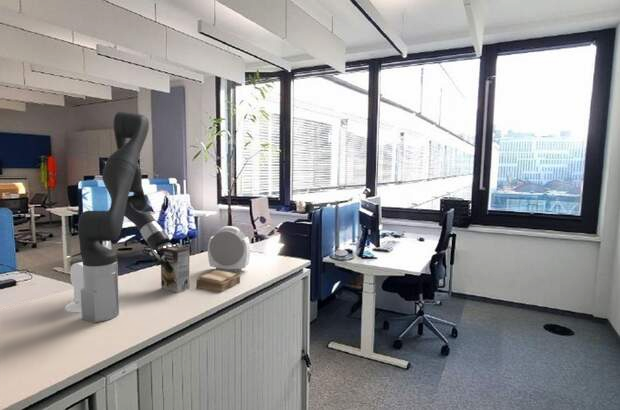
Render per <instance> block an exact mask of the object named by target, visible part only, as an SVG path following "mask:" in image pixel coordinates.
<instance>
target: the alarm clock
mask: <svg viewBox="0 0 620 410" xmlns="http://www.w3.org/2000/svg"><path fill="white" fill-rule="evenodd" d="M250 255H251V241H250V239H249V236H246V234H245V233H244V232H243V231H242V230H240V228H238V227H237V226H232V225H228V226H227V225H226V226H223V227H221V228H219V229H218V231H217V232H216V233H215V234H214V235H213V236H211V237H210V238H209V240H208V244H207V258H208V262H209V263H208V264H209V267H213V268H215V270H219V271H225V272H231V273H236V274H239V273H240V272H241V271H242V270H243V269H245V268H247V267H248V265H249V262H250Z"/></svg>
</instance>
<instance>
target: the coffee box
mask: <svg viewBox="0 0 620 410" xmlns="http://www.w3.org/2000/svg"><path fill="white" fill-rule="evenodd" d="M175 245H176V244H172V246H166V247H162V248H160V249H161V251H162V255H161V258H162V256H163V253H164V254H165V255H166V259H167V262H169V264H170V265H171V267H172V268H173V271H172V272H171V273H168V272H167V271H166V270H165V268H164V267H163V266H162V265H160V277H161V279H160V280H161V281H160V283H161V284H160V286H161V287H160V288H161V289H162V290H167V291H168V292H169V291H170V292H173V293H181V292H183V291H184V292H185V291H186V290H189V289H190V284H191V283H190V261H191V260H190V257H191V256H190V250H191V249H190V248H188V247H186V246H185V247H183V246H181V245H180V246H181V247H180V246H175Z"/></svg>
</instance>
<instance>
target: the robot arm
mask: <svg viewBox="0 0 620 410" xmlns="http://www.w3.org/2000/svg"><path fill="white" fill-rule="evenodd" d="M149 127H150V121H149V118H148V117H147V116H146V115H143V114H141V113H135V112H124V111H119V112H116V114H114V117H113V133H114V138H115V143H116V148H117V149H116V151H114V152H113V153H112V154H111V155H110V156H109V157H107V160H106V162H105V165H104V168H103V172H102V174H101V178H102V181H103V184H104V187H105V189H106V190H107V192H108V194H109V196H110V201H111V202H110V207H109V209H108V210H85V211H83V212H82V213H81V214H80V216H79V218H78V222H77V231H78V232H77V233H78V234H77V235H78V242H79V250H80V252H79V253H80V257H81V259H82V260H83V280H84V288H83V289H81V308H82V312H81V320H84V321H88V322H91V323H95V324H96V323H99V322H103V321H108V320H111V319H113V318H115V317H116V318H117V316H118V315H119V314H120V305H119V303H120V302H119V301H120V299H119V274H118V270H119V268H118V253H117V252H116V251H115V250H113V249H110V248H108V247H106V246H104V245H103V244H101V243H100V242H112V241H116V240H118V239H119V237H120V235H121V232H122V229H123V225H124V220H125V218H126V219H127V220H129V221H130V222H131V223H133V224H134V225H135V227H136V228H137V230H138V231H139V233H140V234H141V236H142V238H143V239H144V240H145V242H146V243H147V245H148V246H149V248H150V249H151V250H150V251H149V253H148V256H149V257H150V259H151V260H152V261H153V263H154V264H155V265H156V266H157V267H158V266H161V265H162V266H163V267H164V268H165V270H166V271H167V272H168V273H171V272H172V271H173V268H172V267H171V265H170V264H169V262H167V259H166V255H165V254H164V253H163V256H162V258H161V255H162V251H161V249H160V248H162V247H166V246H172V245H173V244H172V243H171V240H170V238H169V235H167V233H166V232H165V231H164V230H165V229H163V227H162V226H161V225H160V223H158V222H157V220H156V219H155V217H153V214H151V213H150V212H149V211H144V210H145V209H146V208H147V206H148V202H147V198H146V195H145V193H144V192H145V191H144V188H143V185H142V184H143V182H142V180H143V178H142V176H143V175H142V169H141V168H142V167H141V166H140V163H139V159H140V155H141V151H142V148H143V146H144V143H145V142H146V139H147V136H148V134H149V133H148V132H149ZM127 139H129V141H127ZM130 193H133V194H131V195H129V194H130ZM174 245H175V246H180V247H182V246H181V245H180V243H178V242H177V243H176V244H174Z"/></svg>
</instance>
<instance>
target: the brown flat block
mask: <svg viewBox="0 0 620 410" xmlns="http://www.w3.org/2000/svg"><path fill="white" fill-rule="evenodd" d="M238 283H239V284H240V283H241V276H240V275H238V273H234V272H225V271H219V270H216V269H215V270H212V271H211V272H208V273H205V274H202V275H201V276H199V278H198V279H196V288H199V289H205V290H210V291H215V292H219V293H223V292H225V291H226V290H228V289H231V288H233V287H235V286H236V284H237V285H239V284H238Z"/></svg>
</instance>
